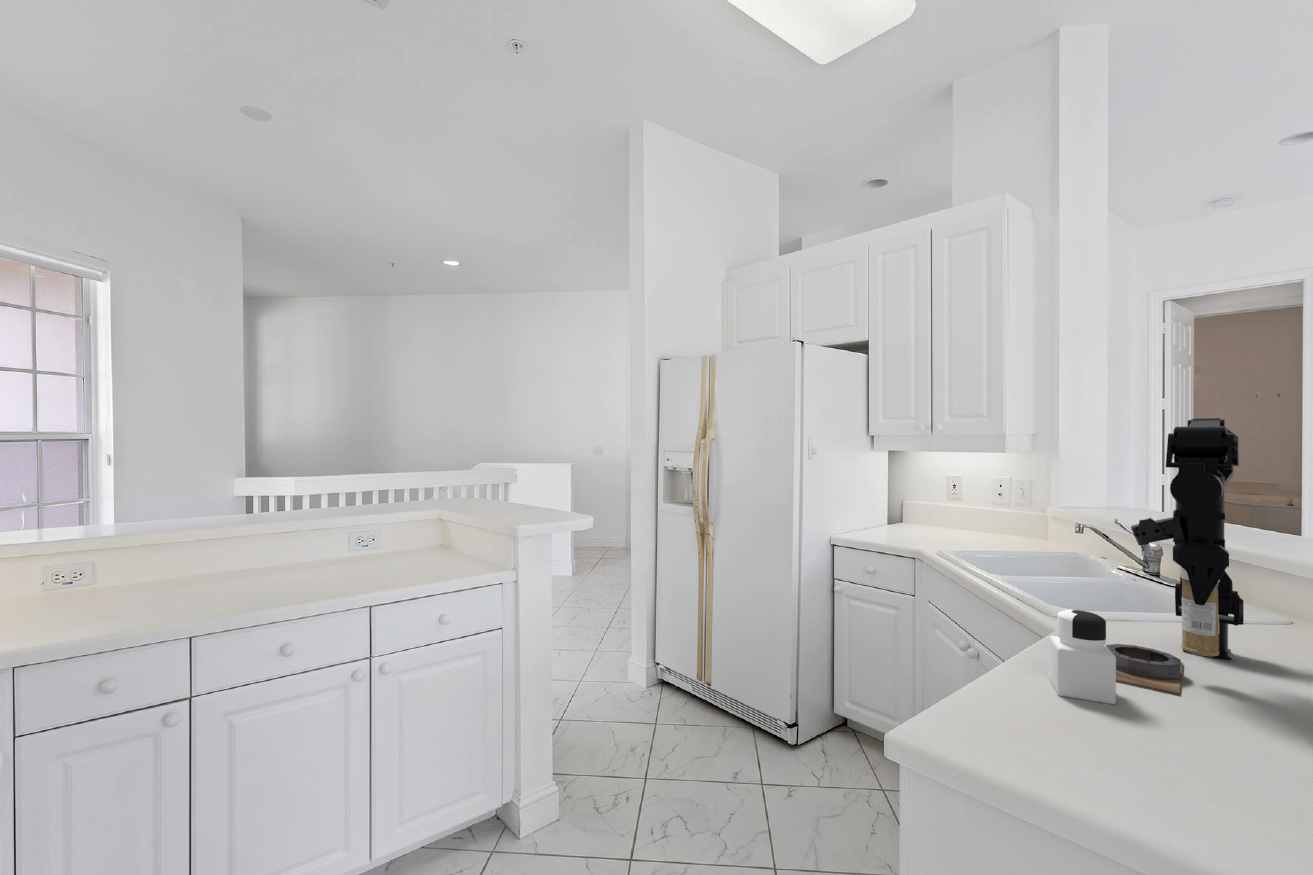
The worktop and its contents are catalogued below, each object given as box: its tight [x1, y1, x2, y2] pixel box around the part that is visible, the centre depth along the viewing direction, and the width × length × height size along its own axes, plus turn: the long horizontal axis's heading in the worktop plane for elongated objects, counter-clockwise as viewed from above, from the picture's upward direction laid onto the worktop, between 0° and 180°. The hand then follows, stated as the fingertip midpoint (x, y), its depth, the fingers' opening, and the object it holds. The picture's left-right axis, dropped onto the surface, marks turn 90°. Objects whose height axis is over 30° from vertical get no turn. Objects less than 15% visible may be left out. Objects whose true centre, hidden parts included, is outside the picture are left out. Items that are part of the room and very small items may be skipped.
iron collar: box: [1105, 643, 1182, 680], centre depth 99 cm, size 10×10×2 cm
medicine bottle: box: [1048, 609, 1117, 705], centre depth 90 cm, size 7×7×12 cm
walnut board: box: [1116, 661, 1184, 697], centre depth 99 cm, size 18×10×1 cm, turn 137°
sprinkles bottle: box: [1180, 566, 1220, 657], centre depth 94 cm, size 5×5×14 cm
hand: (1199, 601), depth 94 cm, fingers closed on sprinkles bottle, 4 cm apart
